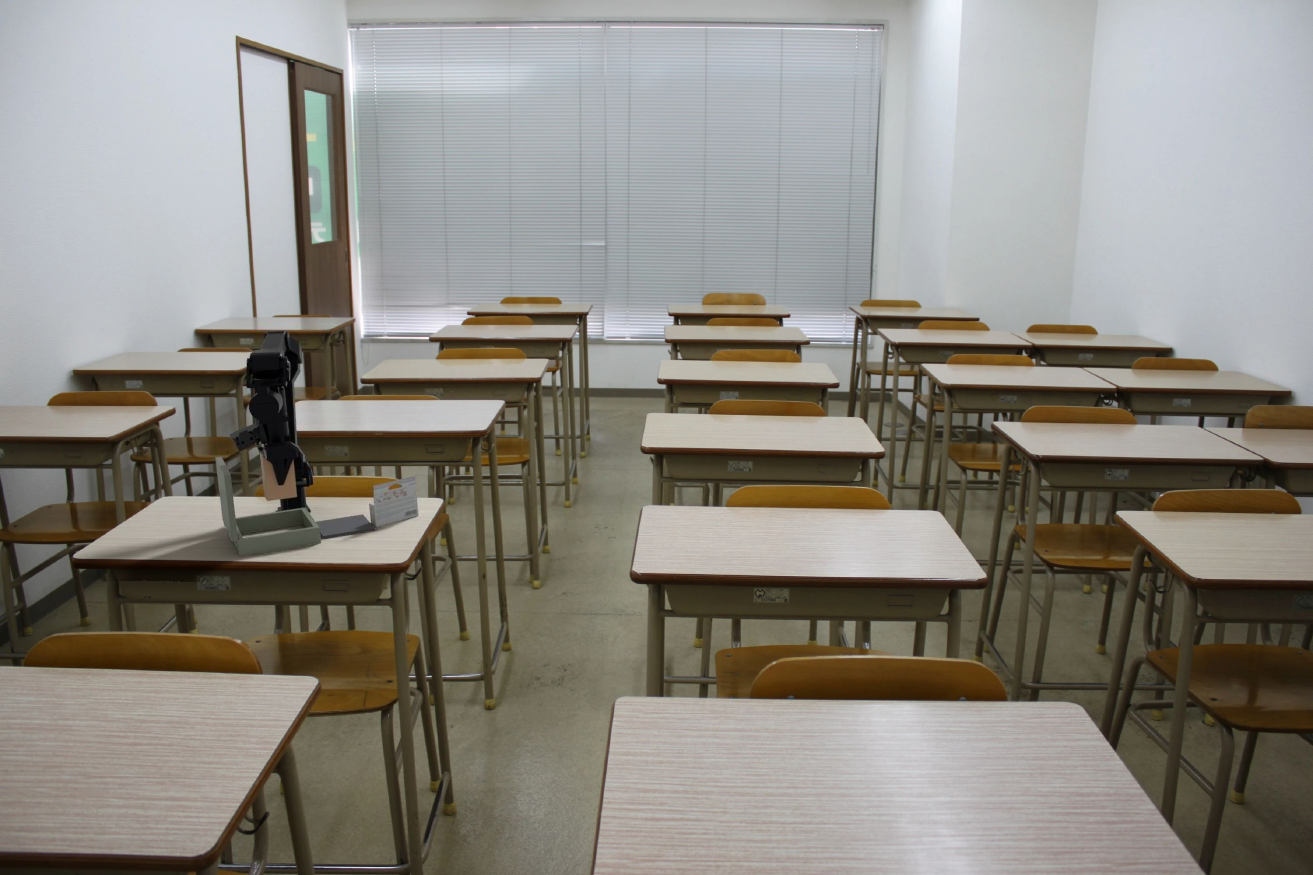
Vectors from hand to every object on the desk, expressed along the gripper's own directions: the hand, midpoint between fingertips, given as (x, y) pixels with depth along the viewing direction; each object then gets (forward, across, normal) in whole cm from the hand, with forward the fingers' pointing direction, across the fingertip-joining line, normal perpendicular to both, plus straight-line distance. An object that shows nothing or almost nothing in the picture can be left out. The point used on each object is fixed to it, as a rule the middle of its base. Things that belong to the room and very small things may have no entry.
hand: (279, 482), depth 205 cm
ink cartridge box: (+12, +1, +24) cm, 27 cm away
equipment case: (+12, 0, -2) cm, 12 cm away
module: (+3, 0, 0) cm, 3 cm away
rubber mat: (+12, 0, +12) cm, 17 cm away
